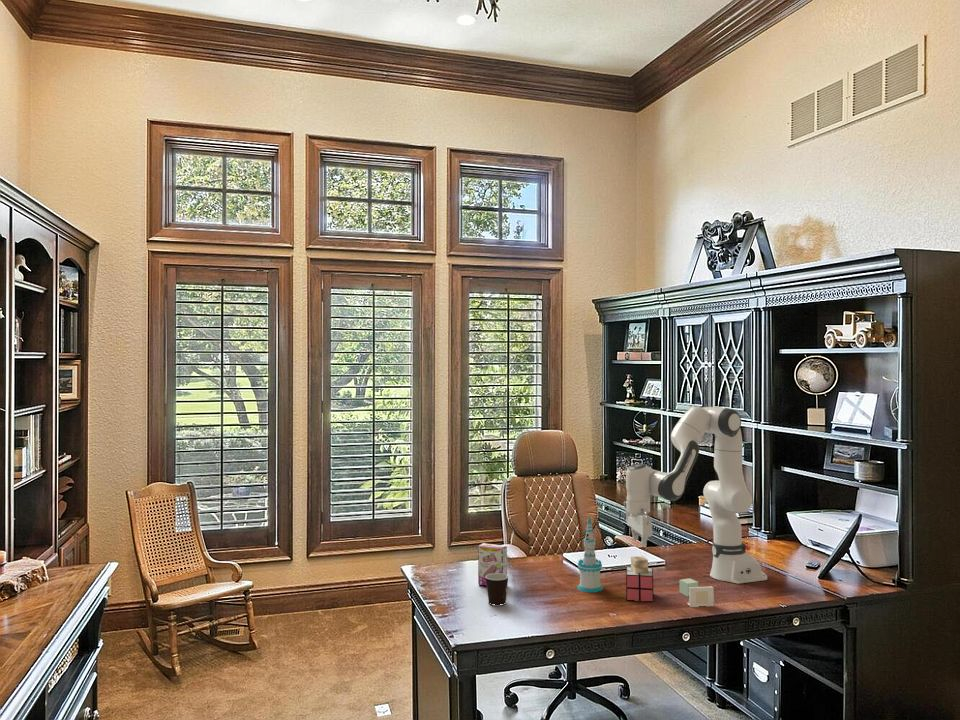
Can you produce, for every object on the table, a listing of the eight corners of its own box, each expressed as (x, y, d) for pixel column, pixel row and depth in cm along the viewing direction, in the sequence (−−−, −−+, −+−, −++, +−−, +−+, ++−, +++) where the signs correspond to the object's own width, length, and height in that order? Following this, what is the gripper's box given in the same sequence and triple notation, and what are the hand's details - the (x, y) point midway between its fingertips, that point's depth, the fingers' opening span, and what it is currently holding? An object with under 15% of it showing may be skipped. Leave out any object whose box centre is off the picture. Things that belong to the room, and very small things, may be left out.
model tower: (584, 593, 277) (583, 516, 277) (573, 585, 286) (572, 511, 286) (607, 590, 280) (606, 514, 279) (596, 583, 289) (595, 509, 289)
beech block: (643, 569, 275) (643, 556, 275) (648, 573, 270) (647, 559, 270) (631, 569, 274) (630, 556, 274) (635, 573, 269) (635, 560, 269)
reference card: (710, 603, 264) (710, 584, 264) (714, 606, 261) (713, 587, 261) (687, 604, 263) (686, 585, 263) (690, 607, 260) (690, 588, 260)
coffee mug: (501, 608, 262) (500, 581, 262) (481, 604, 266) (481, 578, 266) (516, 599, 272) (516, 573, 272) (497, 595, 276) (496, 569, 276)
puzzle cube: (653, 602, 266) (653, 576, 266) (626, 601, 268) (625, 574, 268) (652, 593, 276) (652, 568, 276) (626, 592, 278) (626, 566, 278)
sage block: (690, 590, 278) (689, 578, 278) (698, 594, 274) (698, 581, 274) (679, 592, 276) (679, 579, 276) (687, 596, 272) (687, 583, 272)
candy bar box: (477, 585, 288) (477, 545, 288) (482, 582, 292) (482, 542, 292) (503, 589, 283) (502, 548, 283) (508, 585, 288) (507, 545, 288)
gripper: (656, 512, 262) (657, 549, 262) (637, 500, 282) (638, 535, 282) (639, 513, 261) (640, 550, 261) (622, 501, 281) (623, 536, 281)
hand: (639, 542), depth 272 cm, fingers open, 8 cm apart
